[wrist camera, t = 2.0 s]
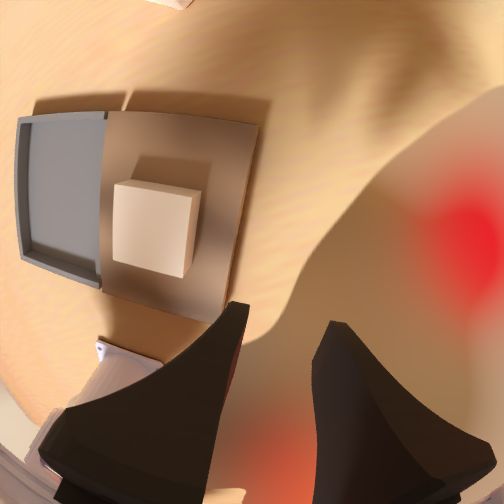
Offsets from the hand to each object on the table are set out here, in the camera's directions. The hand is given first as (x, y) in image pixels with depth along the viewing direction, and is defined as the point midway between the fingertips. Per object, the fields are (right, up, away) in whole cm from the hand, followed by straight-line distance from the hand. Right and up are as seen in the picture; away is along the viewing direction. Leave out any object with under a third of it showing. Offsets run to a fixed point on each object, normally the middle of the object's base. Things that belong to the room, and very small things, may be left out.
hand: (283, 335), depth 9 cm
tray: (-18, +8, +10) cm, 22 cm away
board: (-7, +6, +10) cm, 13 cm away
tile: (-7, +5, +8) cm, 12 cm away
